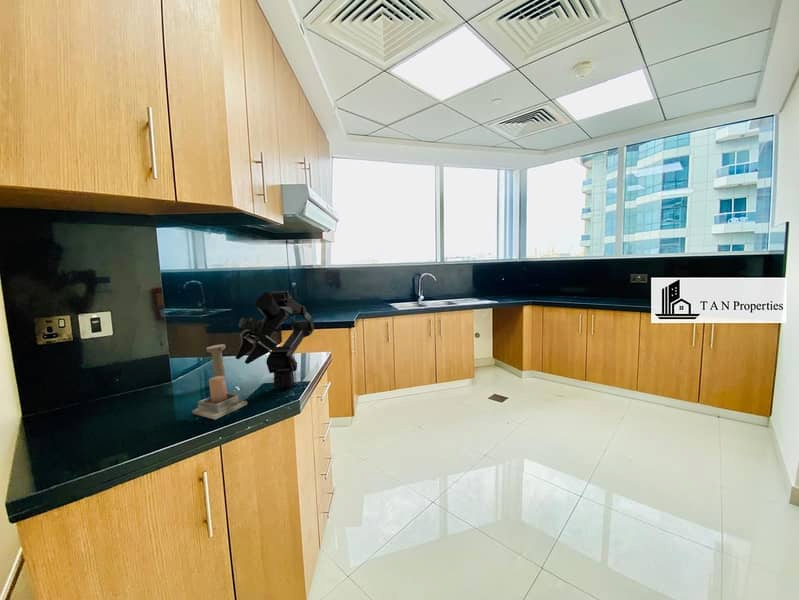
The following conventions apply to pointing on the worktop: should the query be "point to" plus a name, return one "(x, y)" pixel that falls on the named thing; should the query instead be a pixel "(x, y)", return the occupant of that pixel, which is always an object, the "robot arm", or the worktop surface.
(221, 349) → the handle
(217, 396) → the peg
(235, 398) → the socket board
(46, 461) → the worktop surface
